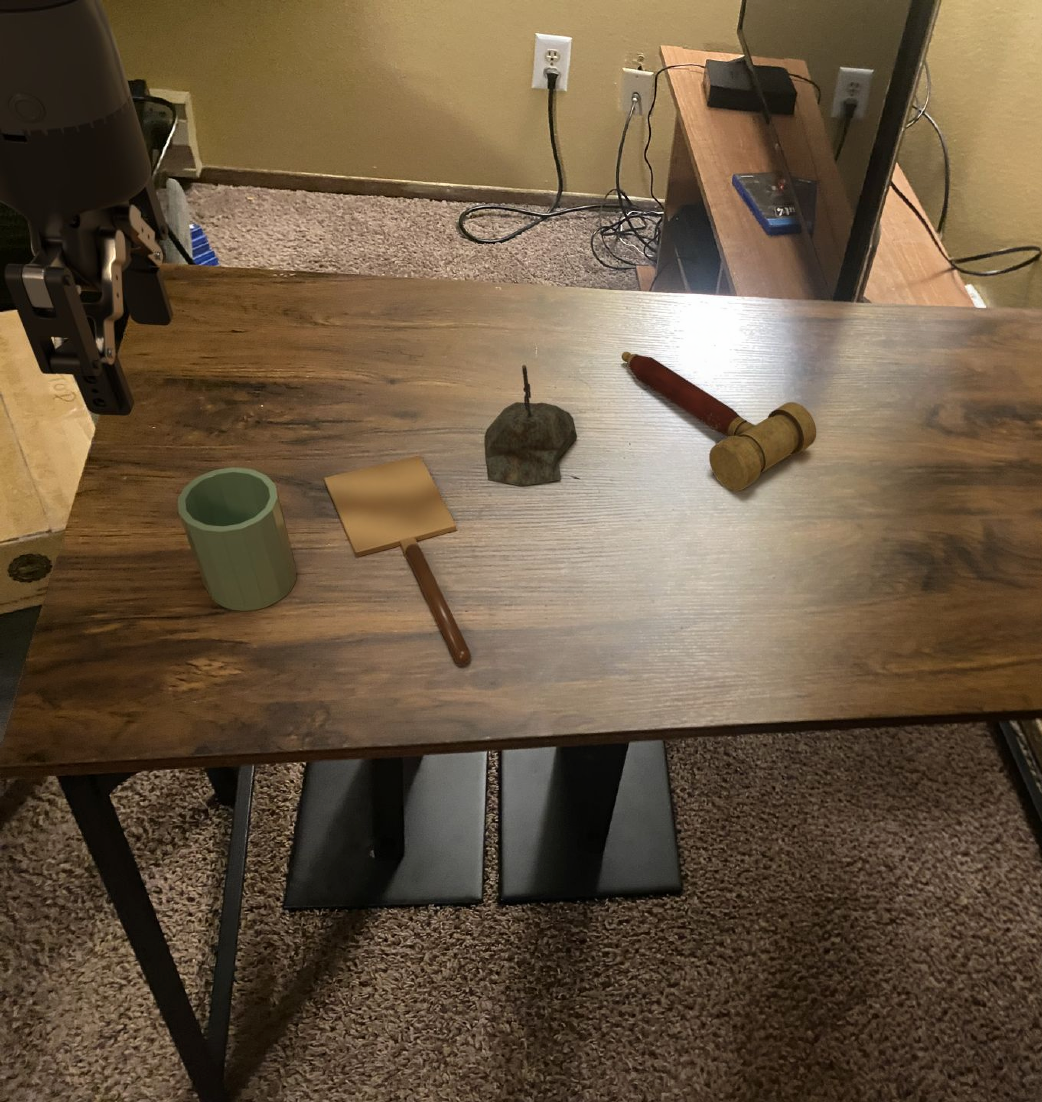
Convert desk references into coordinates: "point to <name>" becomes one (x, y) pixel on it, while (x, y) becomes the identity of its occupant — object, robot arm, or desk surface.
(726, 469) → the gavel
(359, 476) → the spatula
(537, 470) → the sword in stone
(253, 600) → the pot
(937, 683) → the desk surface
